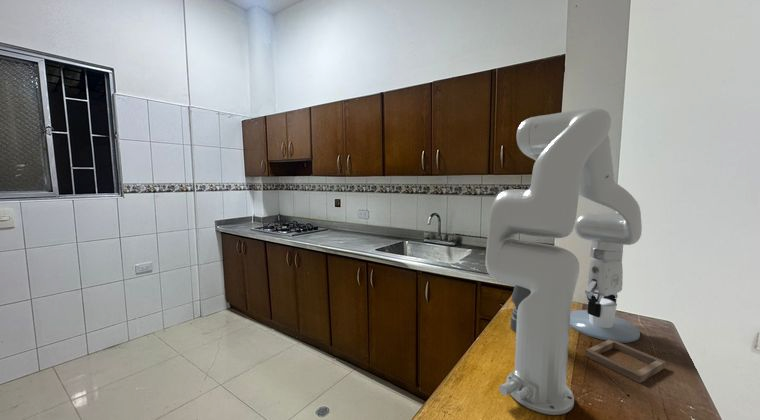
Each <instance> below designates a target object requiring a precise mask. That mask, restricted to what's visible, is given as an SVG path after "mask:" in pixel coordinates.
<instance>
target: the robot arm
mask: <svg viewBox="0 0 760 420" xmlns="http://www.w3.org/2000/svg"><path fill="white" fill-rule="evenodd" d="M611 125H612V117H611V114H610V112H608V111H607V110H605V109H602V108H583V109H575V110H570V111H569V110H568V111H564V112H563V111H562V112H556V113H550V114H545V115H544V114H543V115H537V116H530V117H529V118H526V119H525V120H523V121H522V122H521V123H520V124H519V126H518V127H517V130H516V143H517V147H518V148H519V151H521V153H522V154H523V155H525V156H526V157H528V158H530V159H532V160H534V161H535V162H534V164H533V168H532V173H531V179H530V186H529V188H527V189H516V188H513V189H512V188H511V189H505V190H502V191H501V192H499V193H498V194H497V195H496V196H495V198H494V201H493V202H492V204H491V208H490V212H489V221H488V222H489V223H488V229H487V239H486V249H485V268H486V271H487V274H488V275H489V276H490V277H491V278H493V279H495V280H496V281H500V282H503V283H506V284H511V285H514V286H515V285H517V286H521V287H523V288H526V289H529V290H530V291H531V294H530V295H529V296H528V297H526V298H525V299H524V300H523V301H522V302H521V303H520V304H519V306H518V310H517V327H516V332H515V348H514V349H515V353H514V354H515V356H514V370H513V371H511V372H510V373H508V375H507V376H506V381H505V383H502V384H499V387H498V390H499V393H501V395H502V396H505V397H506V396H508V395H510V396H511V397H512V398H513V399H514V400H515V401H516V402H518V403H519V404H520V405H522V406H524V407H525V408H527V409H529V410H531V411H535V412H537V413H541V414H544V415H550V416H551V415H553V416H555V415H556V416H558V415H564V414H567V413H568V412H570V411H571V410H572V409H573V408H574V404H575V397H574V393H573V392H572V390H571V389H570V388H569V386H568V385H567V371H568V358H569V357H568V356H569V343H570V342H569V341H570V328H571V327H570V315H571V311H572V305H573V299H574V293H575V289H576V286H577V283H578V279H579V275H580V263H579V259H578V258H577V256H576V255H575V254H574V253H573V252H571V251H570V250H568V249H565V248H564V247H560V246H557V245H552V244H546V243H539V242H534V241H526V240H519V239H517V236H518V235H523V236H524V235H525V236H526V235H527V236H533V237H539V238H540V237H541V238H547V239H548V238H549V239H564V238H566V237H568V236H570V235H571V234H572V232H573V231H574V232H575V234H576V235H577V237H579V238H581V239H583V240H586V241H591V242H590V255H589V258H590V259H591V260H590V264H589V269H588V272H587V273H588V274H587V283H586V284H587V288H586V289H585V290H584V292H585V293H584V294H585V295H586V298H587V310H588V314H590V315H593V316H595V317H600V313H601V304H599V303H600V301H601V298H606V299H609V300H612V301H614V302H616V303H617V299H618V293H620V292H621V291H622V290H623V281H624V280H623V278H624V277H623V275H624V274H623V255H624V254H623V253H624V246H631V245H634V244H636V243H637V242H638V241H640V238H641V236H642V232H643V231H642V229H643V227H642V212H641V207H640V204H639V202H638V201H637V200H636V199H635V197H634V196H633V195H632V194H631V193H630V192H629V191H628V190H627V189H625V188H624V187H623V186H622V185H620V184H618V183H617V182H616V181H615V174H614V168H613V167H614V166H613V165H614V164H613V157H612V148H611V141H610V136H609V132H610V130H611V127H612V126H611ZM579 196H581V197H582V198H584V199H586V200H589V201H592V202H594V203H596V204H599V205H602V206H604V207H607V208H610V209H611V210H613V211H615V212H613V211H601V212H600V211H598V212H595V213H592V212H591V213H589V212H588V213H583V214H581V215H580V216H579V217H578V218H577V211H578V204H579V198H580V197H579ZM596 297H597V299H596Z"/></svg>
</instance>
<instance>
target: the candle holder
mask: <svg viewBox="0 0 760 420" xmlns="http://www.w3.org/2000/svg"><path fill="white" fill-rule="evenodd" d="M530 294H531V291H530V290H529V289H526V288H523V287H521V286H517V285H514V287H513V291H512V294H511V301H512V302H513V304H514V308H513V310H512V311H511V315H510V329H511V330H512V331H514V332H515V333H516V327H517V310H518V306H519V304H520V303H521V302H522V301H523V300H524V299H525V298H526V297H528V296H529V295H530Z"/></svg>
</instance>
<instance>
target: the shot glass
mask: <svg viewBox="0 0 760 420" xmlns="http://www.w3.org/2000/svg"><path fill="white" fill-rule="evenodd" d="M595 297H596V299H597V296H595ZM599 304H601V313H600V317H595V316H593V315H590V314H589V320H590V323H592V324H593V325H595V326H598V327H602V328H611V327H612V326H613V322H614V317H615V316H616V311H617V306H618V303H617V301H616V302H614V301H612V300H609V299H606V298H604V297H602V298H601V301H600V303H599Z"/></svg>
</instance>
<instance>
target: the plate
mask: <svg viewBox="0 0 760 420" xmlns="http://www.w3.org/2000/svg"><path fill="white" fill-rule="evenodd" d="M570 328H571V329H573V330H574V331H577V332H579V333H580V334H583V335H585V336H588V337H591V338H594V339H597V340H602V341H604V342H605V341H607V340H609V339H613V340H615V341H618V342H620V343H622V344H624V343H626V344H627V343H633V342H637V341H638V340H639V339H640V336H641V332H640V329H639V328H638V327H637V326H636V325H634V324H633V323H631V322H630V321H628V320H627V319H623V318H622V317H618V316H616V315H615V317H614V322H613V326H612V327H611V328H602V327H598V326H595V325H593V324H592V323H590V320H589V314H588V309H578V310H571V315H570Z"/></svg>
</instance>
